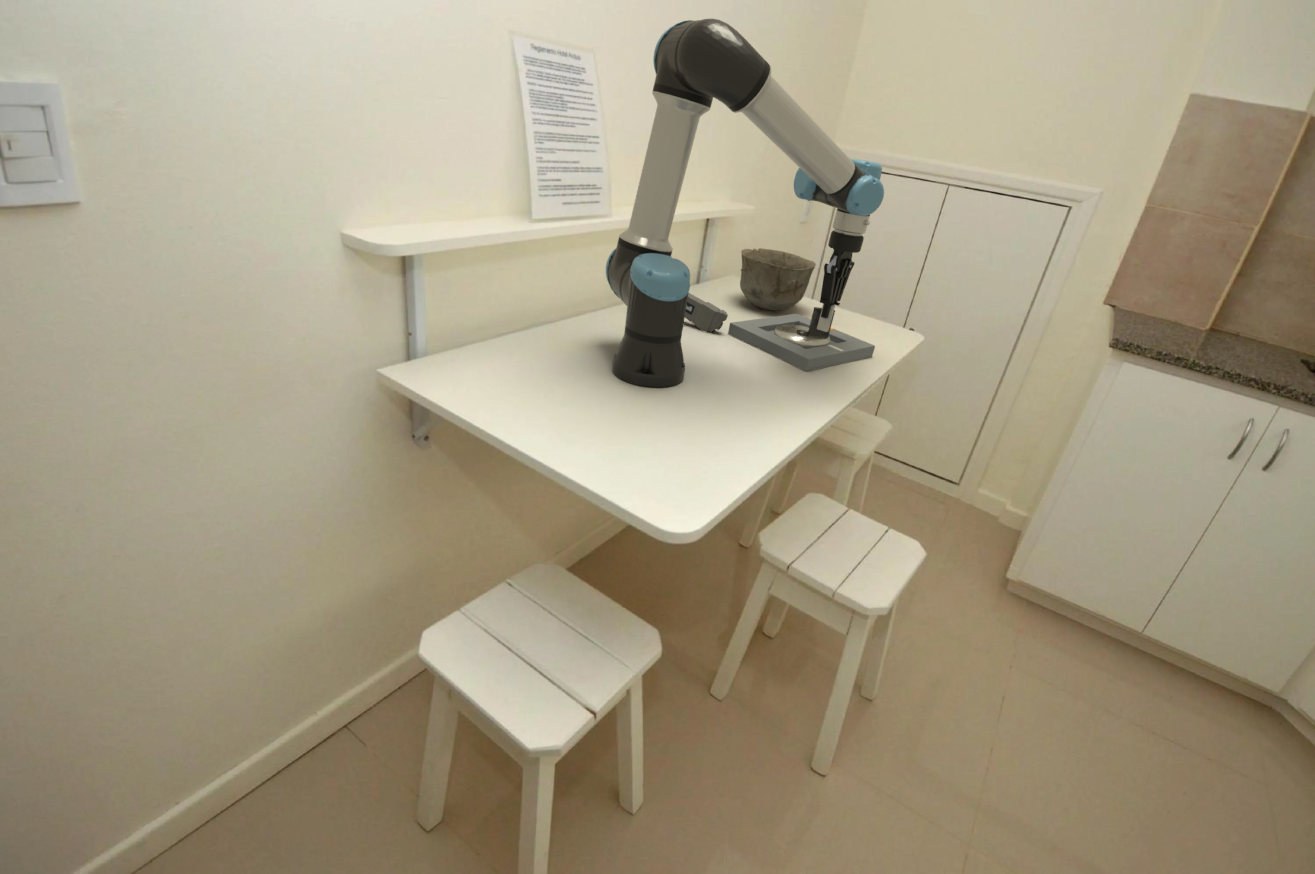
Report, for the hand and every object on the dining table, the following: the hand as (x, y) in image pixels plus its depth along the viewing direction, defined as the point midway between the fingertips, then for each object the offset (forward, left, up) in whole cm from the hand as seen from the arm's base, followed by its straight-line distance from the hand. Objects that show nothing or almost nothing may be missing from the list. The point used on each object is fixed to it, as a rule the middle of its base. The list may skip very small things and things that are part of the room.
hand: (822, 330), depth 162 cm
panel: (-1, +5, -6) cm, 7 cm away
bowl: (+16, +32, -6) cm, 36 cm away
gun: (-21, +30, -6) cm, 38 cm away
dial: (-1, +5, -4) cm, 6 cm away
